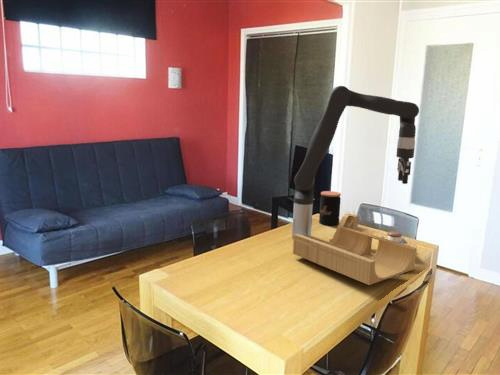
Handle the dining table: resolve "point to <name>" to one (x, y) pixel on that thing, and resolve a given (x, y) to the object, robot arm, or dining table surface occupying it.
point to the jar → (395, 235)
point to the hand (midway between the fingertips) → (402, 182)
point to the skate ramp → (357, 253)
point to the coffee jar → (329, 208)
